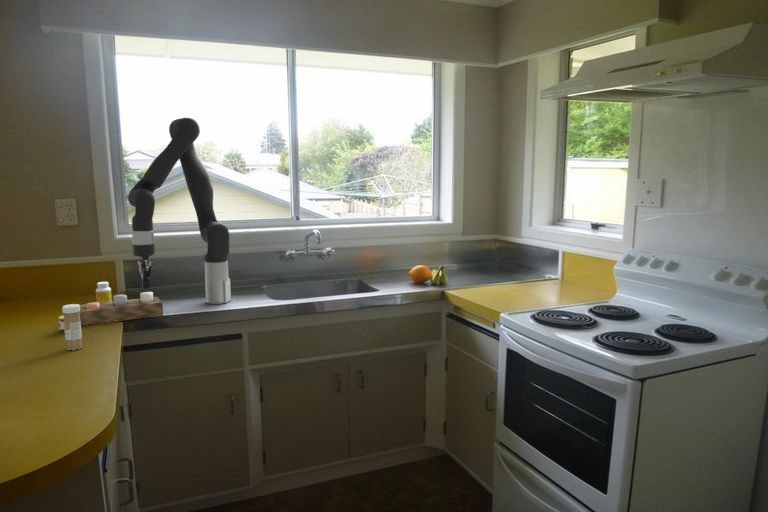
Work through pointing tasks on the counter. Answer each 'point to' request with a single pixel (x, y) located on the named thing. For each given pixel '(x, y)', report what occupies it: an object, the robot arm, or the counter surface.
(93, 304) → the brown egg
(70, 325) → the sprinkles bottle
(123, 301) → the blue-grey egg
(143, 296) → the cream button
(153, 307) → the button panel
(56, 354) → the counter surface
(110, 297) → the supplement bottle
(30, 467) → the counter surface
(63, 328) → the stacked layers on plate
